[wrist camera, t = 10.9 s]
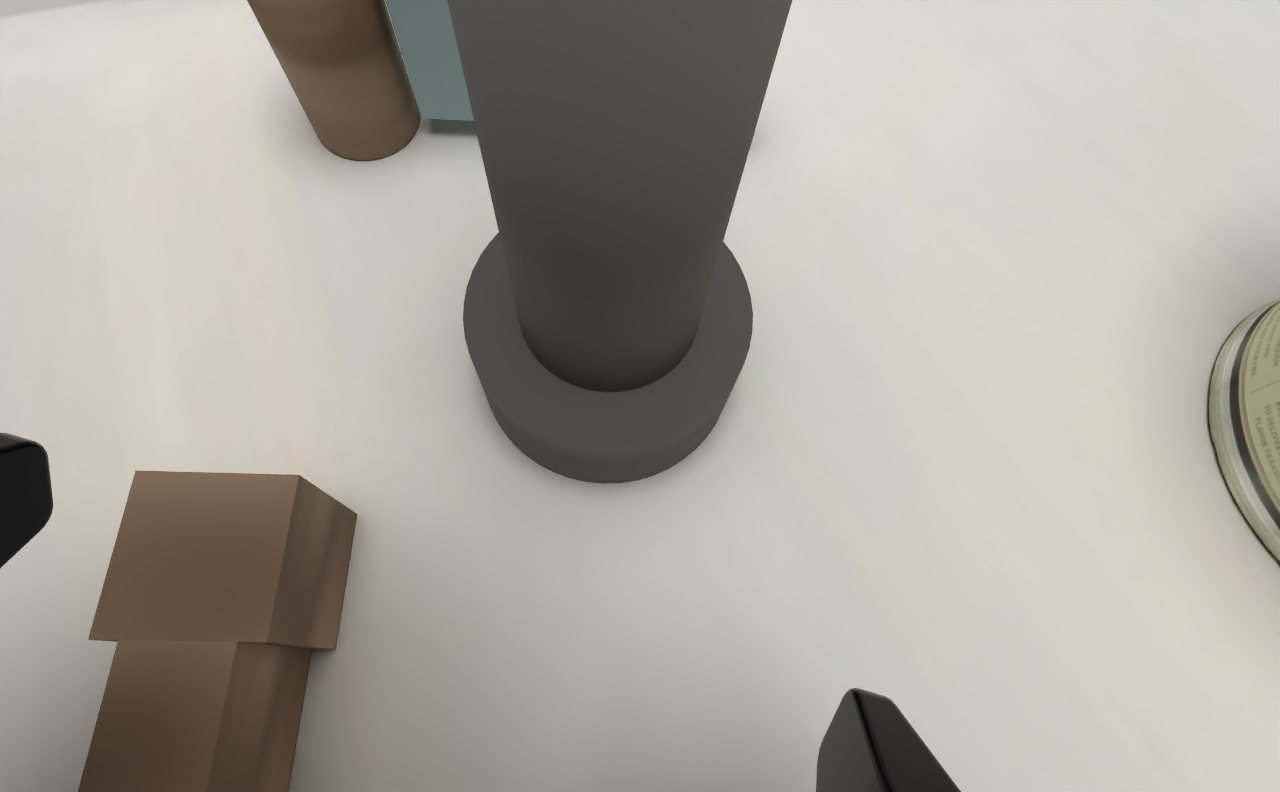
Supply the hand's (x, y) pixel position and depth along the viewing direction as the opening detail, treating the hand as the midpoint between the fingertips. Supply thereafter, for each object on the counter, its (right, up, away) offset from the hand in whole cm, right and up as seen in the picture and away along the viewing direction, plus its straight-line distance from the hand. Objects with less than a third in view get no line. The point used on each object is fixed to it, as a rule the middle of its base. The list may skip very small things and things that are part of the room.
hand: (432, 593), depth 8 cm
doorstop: (+1, +3, +11) cm, 11 cm away
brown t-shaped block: (-6, +2, +10) cm, 12 cm away
